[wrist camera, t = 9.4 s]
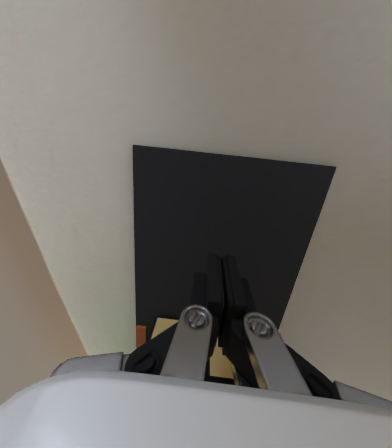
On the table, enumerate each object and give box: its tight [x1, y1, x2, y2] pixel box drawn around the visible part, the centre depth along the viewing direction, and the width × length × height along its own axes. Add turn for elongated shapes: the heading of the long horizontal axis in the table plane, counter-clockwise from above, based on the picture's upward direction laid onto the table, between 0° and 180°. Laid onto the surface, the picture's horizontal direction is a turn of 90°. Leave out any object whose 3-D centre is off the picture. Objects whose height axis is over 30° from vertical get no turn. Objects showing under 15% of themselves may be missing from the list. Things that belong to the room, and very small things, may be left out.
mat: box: [133, 145, 336, 348], centre depth 17 cm, size 28×14×1 cm, turn 174°
